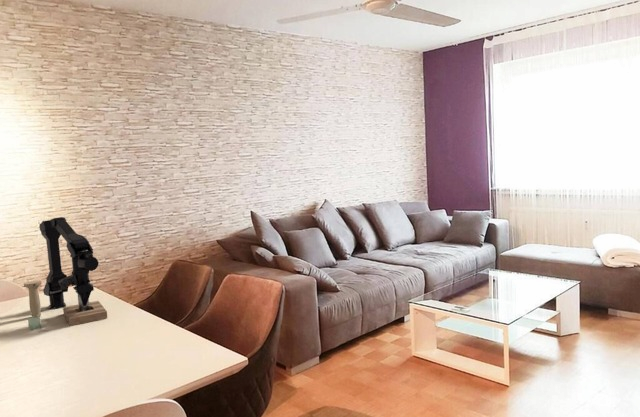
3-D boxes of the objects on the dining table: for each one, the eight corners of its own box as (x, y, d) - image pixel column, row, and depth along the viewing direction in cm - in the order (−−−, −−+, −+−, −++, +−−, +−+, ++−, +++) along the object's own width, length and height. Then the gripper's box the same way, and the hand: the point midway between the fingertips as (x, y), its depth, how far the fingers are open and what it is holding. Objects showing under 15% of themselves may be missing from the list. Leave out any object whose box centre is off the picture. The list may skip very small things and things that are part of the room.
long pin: (78, 313, 204) (76, 290, 203) (89, 311, 206) (87, 288, 205) (80, 316, 201) (77, 292, 200) (90, 314, 203) (88, 290, 202)
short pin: (28, 328, 192) (27, 318, 191) (40, 325, 194) (39, 316, 193) (29, 330, 188) (28, 320, 188) (41, 328, 190) (40, 318, 190)
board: (63, 313, 208) (63, 307, 208) (98, 307, 216) (98, 300, 215) (69, 326, 191) (68, 318, 191) (107, 318, 199) (106, 311, 199)
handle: (46, 315, 206) (42, 281, 205) (29, 319, 202) (25, 284, 200) (43, 313, 210) (39, 279, 208) (26, 317, 205) (22, 283, 204)
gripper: (56, 267, 205) (59, 303, 206) (61, 275, 189) (65, 314, 191) (85, 263, 211) (88, 298, 213) (92, 270, 195) (95, 308, 197)
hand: (83, 304), depth 203 cm, fingers closed on long pin, 4 cm apart
